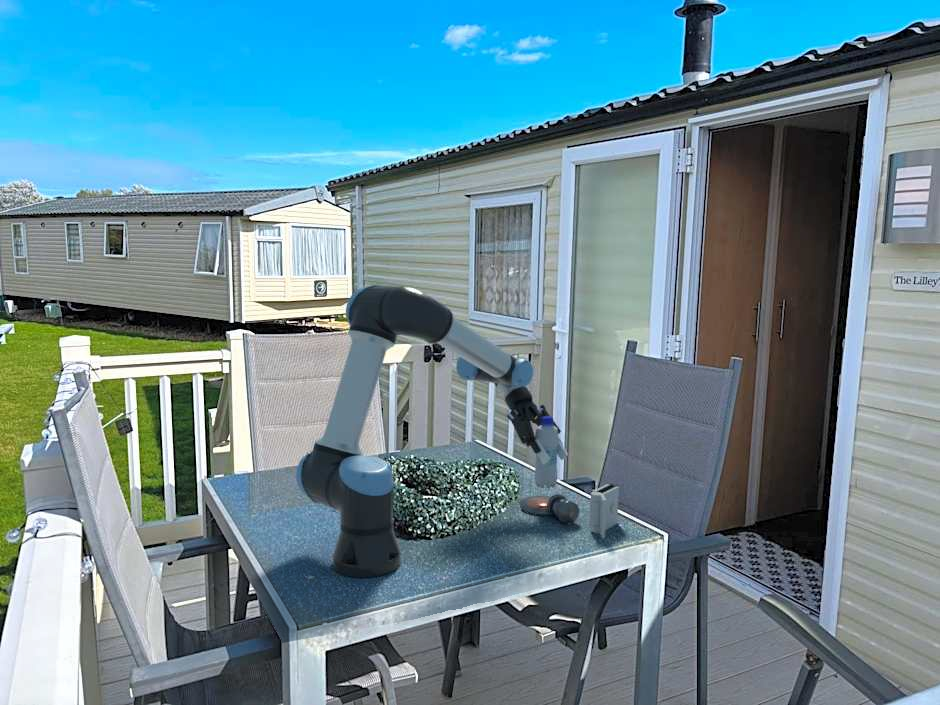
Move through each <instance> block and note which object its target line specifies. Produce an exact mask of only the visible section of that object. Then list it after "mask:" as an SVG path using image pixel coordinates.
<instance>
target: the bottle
mask: <svg viewBox="0 0 940 705" xmlns="http://www.w3.org/2000/svg"><path fill="white" fill-rule="evenodd" d="M554 422H555V421H554V417H552V416H551V415H550V416H544V417H542V419H541V424H542V425H540V426H537V427H536V429H535V433H534V435H535V441H536V440H538V439H539V441H540V443H541V444H542V446H543V448H544V449H545V451H546V453H547V454H548V456H549V458H550V460H549V461H548V462H547V463H546V464H545V465H543V464H542V462H541V460H540V459H539V457H538V455H537V454H536V453H535V468H534V482H535V486H536V487H538V488H539V487H540V489H544V486H546V489H548V490H549V489H550V488H555V487H556V485H557V482H558V466H557V465H558V454H557V446H558V444H559V443H558V441H559V439H560V437H559V434H558V428H557V427H555V426H553V423H554Z"/></svg>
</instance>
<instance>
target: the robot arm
mask: <svg viewBox="0 0 940 705" xmlns="http://www.w3.org/2000/svg"><path fill="white" fill-rule="evenodd" d="M345 317H346V318H347V319H346V320H347V323H348V324H349V329H348V331H347V333H348V335H349V337H350V338H351V344H350V347H349V350H348V353H347V357H346V359H345V364H344V367H343V370H342V374H341V377H340V380H339V384H338V388H337V390H336V394H335V397H334V401H333V403H332V407H331V411H330V413H329V417H328V420H327V424H326V427H325V429H324V434H323V436H322V437H321V438H319V439H317V440H315V441H314V445H313V448H312V450H310V451H309V452H307V453H306V455H303V456H302V458H301V459H300V460H299V463H298V465H297V468H296V472H295V476H296V477H295V478H296V485H297V486H298V488H299V490H300V492H301V494H303V496H305V497H306V498H308V499H309V500H311V501H312V502H313V503H316V504H320V505H324V506H326V507H328V508H331V509H334V510H336V511H339V513H340V514H339V515H340V516H339V518H340V521H339V522H340V532H339V535H338V539H337V540H336V541H337V542H336V543H335V548H334V549H333V554H332V568H333V569H334V570H335V571H336V572H337V573H338V574H341V575H344V576H346V577H347V576H348V577H353V578H373V577H379V576H383V575H386V574H389V573H391V572H394V571H395V570H397V569H398V568H399V567H400V565H401V563H402V554H401V553H402V552H401V549H400V545H399V543H398V540H397V536H396V534H395V531H394V485H395V482H394V475H393V469H392V466H391V464H390V463H389V462H388V461H386V460H385V459H383V458H380V457H377V456H374V455H373V456H368V455H366V454H363V452H362V450H361V449H360V443H361V439H362V436H363V432H364V428H365V425H366V422H367V418H368V415H369V411H370V408H371V405H372V401H373V398H374V394H375V392H376V388H377V384H378V381H379V378H380V377H379V376H380V373H381V370H382V367H383V364H384V359H385V357H386V353H387V351H388V350H390V349H391V348H394V347H395V346H396V342H397V341H396V340H397V337H398V336H404V337H405V336H406V337H412V338H415V339H416V338H417V339H420V340H423V341H424V342H427V343H428V344H431V345H432V344H433V345H435V344H438V345H440V347H443V348H444V349H446V350H448V351H449V352H451V353H453V354H455V355H456V356H458V359H457V361H456V369H455V371H456V374H457V375H458V377H459V378H460V379H462V380H465V381H472V382H473V381H477V382H478V381H479V382H486V383H493V384H494V386H495V388H496V389H497V390H498V391H499V393H500V395H501V397H502V398H503V399H504V402H505V404H506V405H507V407H508V409H509V410H510V411H509V412H508V414H507V415H506V417H507V418H508V420H509V421H510V422H511V423H512V424H511V425H513V427H514V431H515V432H516V434H517V436H518V438H519V440H520V442H521V443H522V444H523V445H526V447H530V448H531V449H532V450H533V453H534V454H535V455H536V454H537V455H538V457H539V459H540V460H541V462H542V464H543V465H545V464H546V463H547V462H548V461H549V460H550V458H549V456H548V454H547V453H546V451H545V449H544V448H543V446H542V444H541V443H540V441H539V439H538V440H536V441H535V433H534V429H533V426H532V423H533V424H535V425H536V426H537V427H538V426H540V425H542V424H541V419H542V417H544V416H550V417H551V415H550V413H549V412H548V411H547V408H546V406H545V405H544V404H541V405H540V406H538V405H537V404H536V403H534V402H533V395H532V394H531V392H530V390H529V389H528V388H527V387H526V386H528V385H529V384H530V383H531V381H532V380H533V376H534V367H533V364H532V363H531V361H529V360H528V359H525V358H524V359H523V358H521V357H520V358H517V357H514V356H513V355H511V354H510V353H508V352H507V351H505V350H503V348H502V347H500V346H498V345H496V344H494V343H493V342H492V341H490V340H489V339H488V338H486V337H484V336H483V335H482V334H480V333H478V332H477V331H475V330H474V329H472V328H471V327H469V326H468V325H466V324H465V323H463V322H462V321H460V320H458V319H457V318H455V317H454V313H453V312H452V310H451V309H450V308H448V306H446V305H444V304H442V303H441V302H439V301H437V300H436V299H435V298H433V297H432V296H430V295H428V294H426V293H425V292H423V291H421V290H418V289H416V288H413V287H411V286H410V287H409V286H405V285H404V286H403V285H402V286H398V285H397V286H394V285H391V286H390V285H380V284H374V285H366V286H363V287H360V288H359V289H356V290H355V291H354V292H353V293H352V294H351V295H350V297H349V298H348V301H347V303H346V307H345ZM553 426H555V427H557V428H558V435H560V433H561V432H562V430H561V429H560V427H559V426H558V425H557V423H556V422H555V421H554V423H553ZM558 443H559V444H558V446H557V457H558V458H559V459H560V460H561V461H564V460H565V458H566V457H568V455H569V453H568V452H567V450H566V448H565V446H564V444H563V442H562V441H561V439H560V438H559V441H558Z"/></svg>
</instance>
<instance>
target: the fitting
mask: <svg viewBox="0 0 940 705" xmlns="http://www.w3.org/2000/svg"><path fill="white" fill-rule="evenodd" d="M520 508H521V509H522V510H524V511H526V512H528V513H527V514H529V513H531V514H530V515H533V514H536V515H535V516H539V515H553V516H552V517H555V516H557V517H556V518H558V520H559V522H561V523H562V524H564V525H570V524H569V523H571V524H573V523H575V522H576V521H577V519H578V518H579V515H580V508H579V505H578V504H577V503H576V502H574V501H573V500H568V499H567V497H565V496H564V495H562V494H560V493H556V494H553V495H552V496H549V495H536V496H527V497H524V498H523V499H521V500H520V501H519V509H520ZM521 509H520V510H521ZM522 510H521V511H522ZM524 511H523V512H524ZM526 512H525V513H526Z"/></svg>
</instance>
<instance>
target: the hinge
mask: <svg viewBox="0 0 940 705" xmlns="http://www.w3.org/2000/svg"><path fill="white" fill-rule="evenodd" d="M619 489H620V486H619V485H617V484H616V485H614V484H613V483H612V484H608V483H607V484H604V485H603V486H601V487H598V488H596V489H594V490H592V492H590V499H589V500H590V505H589V532H590V531H591V532H590V533H592V532H594V533H593V534H599V533H600V534H599V536H600V535H601V536H600V538H601V537H602V538H605V539H606V531H608V530H609V529H610V528H612V527H614V526H616V525H617V524H618V521H619V520H618V518H619V517H618V514H619V495H620V494H619ZM602 538H601V539H602Z"/></svg>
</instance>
